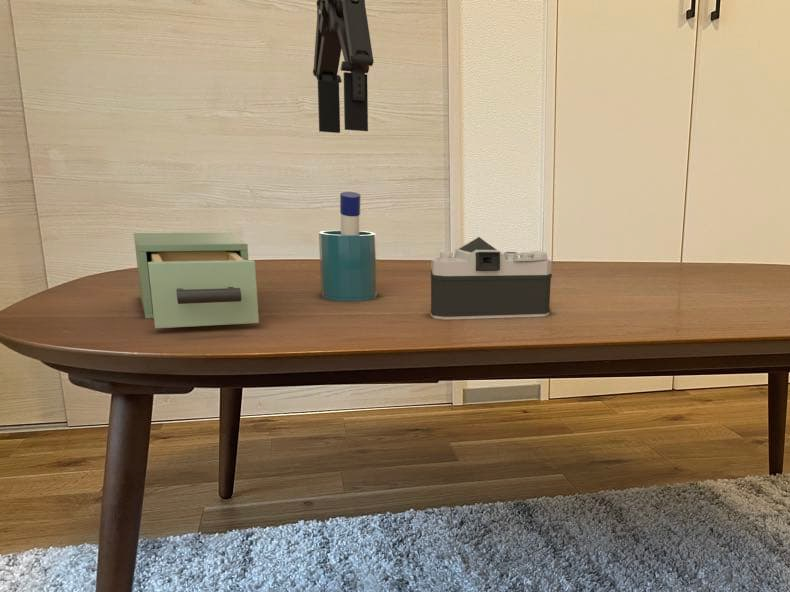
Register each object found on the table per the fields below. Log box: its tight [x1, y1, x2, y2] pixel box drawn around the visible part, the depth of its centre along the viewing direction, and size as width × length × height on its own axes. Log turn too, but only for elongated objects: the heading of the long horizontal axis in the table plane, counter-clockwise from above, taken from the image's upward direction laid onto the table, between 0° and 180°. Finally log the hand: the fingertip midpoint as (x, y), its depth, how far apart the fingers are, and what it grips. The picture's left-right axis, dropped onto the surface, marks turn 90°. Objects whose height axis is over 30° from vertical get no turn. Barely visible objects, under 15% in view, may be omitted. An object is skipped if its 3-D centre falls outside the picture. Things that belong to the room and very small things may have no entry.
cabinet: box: [133, 232, 249, 319], centre depth 96 cm, size 14×12×9 cm
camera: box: [430, 236, 553, 320], centre depth 100 cm, size 16×9×10 cm, turn 111°
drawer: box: [148, 251, 260, 329], centre depth 86 cm, size 17×10×7 cm, turn 28°
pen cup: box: [318, 230, 378, 302], centre depth 107 cm, size 7×7×9 cm
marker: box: [339, 191, 362, 235], centre depth 104 cm, size 3×3×14 cm
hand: (342, 131), depth 101 cm, fingers open, 13 cm apart
